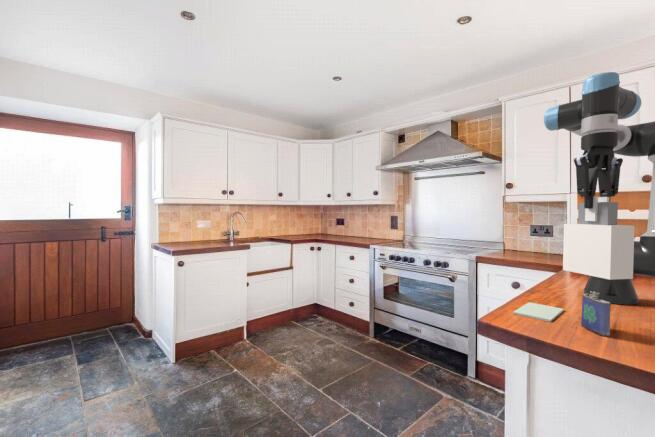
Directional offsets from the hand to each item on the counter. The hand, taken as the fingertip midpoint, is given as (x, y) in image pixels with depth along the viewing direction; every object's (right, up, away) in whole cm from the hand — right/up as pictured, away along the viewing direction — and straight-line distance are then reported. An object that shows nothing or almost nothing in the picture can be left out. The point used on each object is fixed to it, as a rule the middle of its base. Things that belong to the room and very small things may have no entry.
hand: (596, 220), depth 85 cm
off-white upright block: (0, -15, 0) cm, 15 cm away
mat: (-5, -30, +16) cm, 34 cm away
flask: (0, -30, +1) cm, 30 cm away
